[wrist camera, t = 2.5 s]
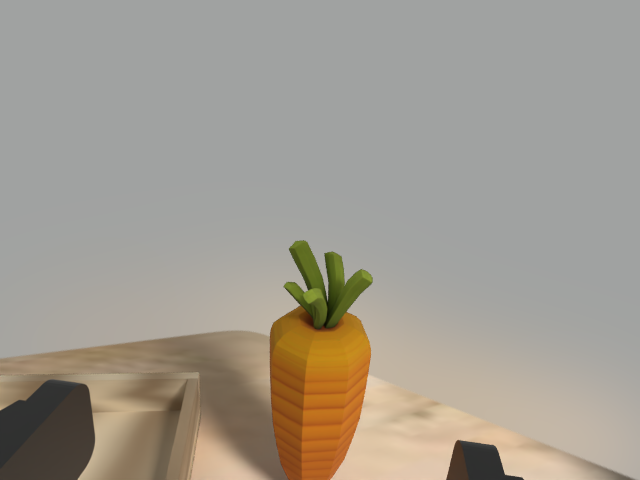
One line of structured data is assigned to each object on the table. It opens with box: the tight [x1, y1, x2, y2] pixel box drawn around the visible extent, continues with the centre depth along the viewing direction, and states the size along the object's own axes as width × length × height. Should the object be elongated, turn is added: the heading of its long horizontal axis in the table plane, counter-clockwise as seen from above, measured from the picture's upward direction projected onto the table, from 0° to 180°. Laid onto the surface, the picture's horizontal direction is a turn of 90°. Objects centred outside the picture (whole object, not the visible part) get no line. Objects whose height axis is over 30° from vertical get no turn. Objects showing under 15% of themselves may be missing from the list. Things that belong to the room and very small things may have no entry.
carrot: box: [270, 240, 372, 480], centre depth 24 cm, size 5×5×15 cm
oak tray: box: [0, 372, 201, 480], centre depth 25 cm, size 18×10×4 cm, turn 96°
